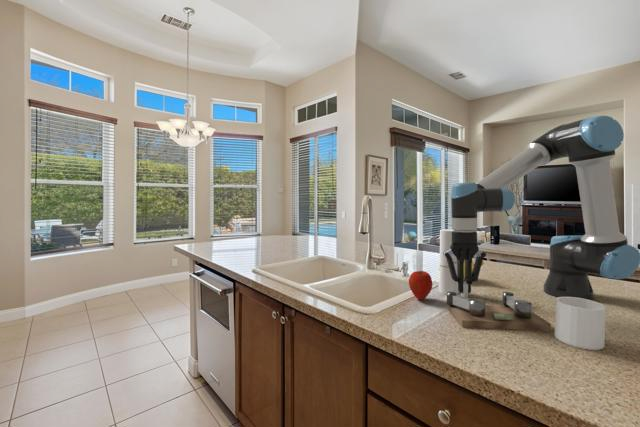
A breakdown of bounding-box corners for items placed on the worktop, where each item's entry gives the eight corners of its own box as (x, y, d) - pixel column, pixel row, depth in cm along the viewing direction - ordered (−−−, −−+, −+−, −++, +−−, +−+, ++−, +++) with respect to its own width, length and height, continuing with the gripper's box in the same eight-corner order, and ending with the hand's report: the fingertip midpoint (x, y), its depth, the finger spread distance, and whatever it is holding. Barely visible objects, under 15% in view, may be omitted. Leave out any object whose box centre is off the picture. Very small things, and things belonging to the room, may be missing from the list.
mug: (603, 355, 73) (605, 313, 73) (551, 341, 80) (552, 303, 80) (605, 337, 82) (607, 300, 82) (558, 326, 89) (560, 292, 89)
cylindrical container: (460, 295, 118) (461, 231, 117) (440, 294, 120) (441, 230, 118) (456, 289, 125) (457, 229, 124) (437, 289, 126) (438, 229, 125)
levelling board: (523, 312, 100) (524, 301, 100) (550, 330, 86) (551, 317, 86) (447, 309, 103) (448, 298, 103) (462, 327, 89) (462, 314, 89)
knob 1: (488, 314, 93) (488, 301, 92) (479, 317, 90) (479, 304, 90) (452, 302, 104) (452, 290, 103) (443, 304, 101) (443, 292, 101)
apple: (415, 294, 120) (415, 267, 119) (436, 299, 114) (436, 270, 113) (404, 299, 114) (404, 270, 113) (425, 304, 108) (426, 274, 107)
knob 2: (534, 318, 89) (535, 305, 89) (518, 318, 90) (518, 304, 90) (512, 303, 102) (512, 291, 102) (498, 303, 103) (499, 291, 102)
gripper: (480, 229, 102) (480, 299, 103) (440, 229, 103) (441, 298, 104) (490, 231, 94) (490, 306, 95) (447, 232, 96) (447, 306, 97)
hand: (464, 302), depth 100 cm, fingers closed
